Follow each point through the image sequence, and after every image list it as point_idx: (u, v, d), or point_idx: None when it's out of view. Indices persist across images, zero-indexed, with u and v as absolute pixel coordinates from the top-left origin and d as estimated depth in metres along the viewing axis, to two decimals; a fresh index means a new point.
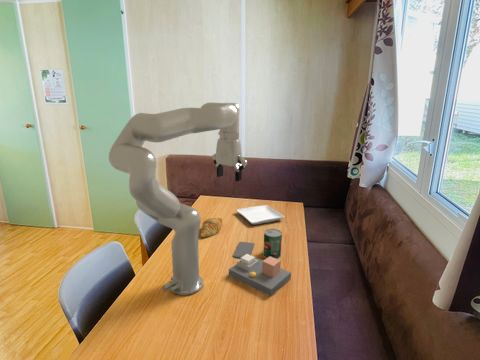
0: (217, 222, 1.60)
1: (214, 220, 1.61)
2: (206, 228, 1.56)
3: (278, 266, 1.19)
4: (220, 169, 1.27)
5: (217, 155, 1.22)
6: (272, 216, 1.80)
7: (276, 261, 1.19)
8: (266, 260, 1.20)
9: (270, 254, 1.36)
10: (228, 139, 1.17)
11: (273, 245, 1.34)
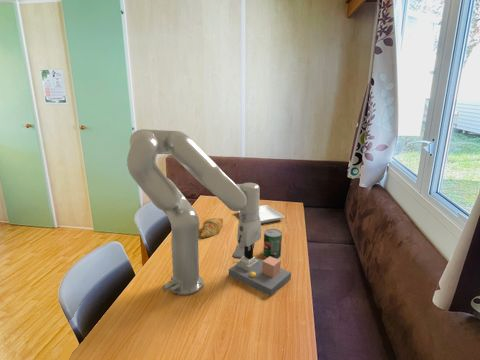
0: (217, 222, 1.60)
1: (214, 220, 1.60)
2: (206, 228, 1.56)
3: (278, 266, 1.19)
4: None
5: (248, 239, 1.17)
6: (272, 216, 1.80)
7: (276, 261, 1.19)
8: (266, 260, 1.20)
9: (270, 254, 1.36)
10: (258, 217, 1.20)
11: (273, 245, 1.34)
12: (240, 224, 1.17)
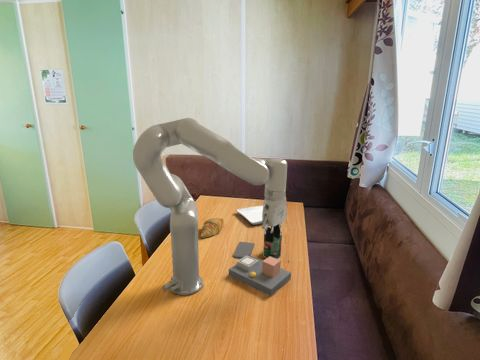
0: (218, 222, 1.60)
1: (215, 220, 1.60)
2: (206, 228, 1.56)
3: (278, 266, 1.19)
4: None
5: (274, 218, 1.10)
6: None
7: (276, 261, 1.19)
8: (266, 260, 1.20)
9: (270, 254, 1.36)
10: (285, 195, 1.12)
11: (273, 245, 1.34)
12: (266, 202, 1.10)
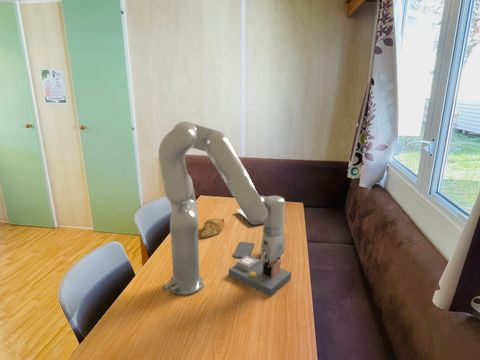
0: (218, 222, 1.60)
1: (215, 220, 1.60)
2: (207, 228, 1.56)
3: (278, 266, 1.19)
4: None
5: (272, 254, 1.14)
6: None
7: (276, 261, 1.19)
8: (266, 260, 1.20)
9: None
10: None
11: None
12: (264, 238, 1.14)
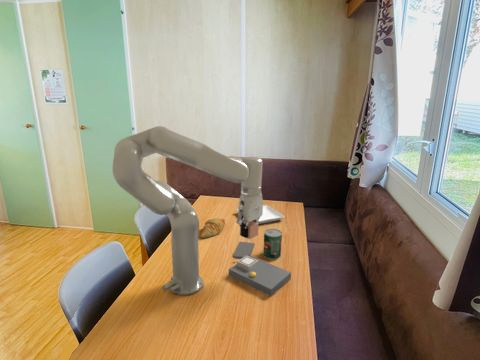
0: (219, 223, 1.59)
1: (216, 221, 1.60)
2: (207, 228, 1.55)
3: (256, 228, 1.20)
4: None
5: (249, 214, 1.14)
6: (272, 216, 1.80)
7: (254, 223, 1.20)
8: (244, 222, 1.20)
9: (270, 254, 1.36)
10: (260, 192, 1.16)
11: (273, 245, 1.34)
12: (241, 199, 1.14)
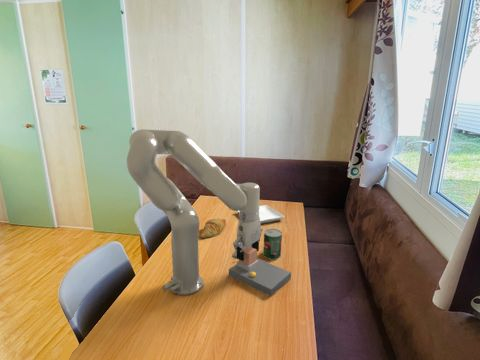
0: (219, 223, 1.59)
1: (216, 221, 1.60)
2: (207, 228, 1.55)
3: (254, 255, 1.23)
4: None
5: (248, 238, 1.17)
6: (272, 216, 1.80)
7: (252, 250, 1.23)
8: None
9: (270, 254, 1.36)
10: None
11: (273, 245, 1.34)
12: (240, 224, 1.17)
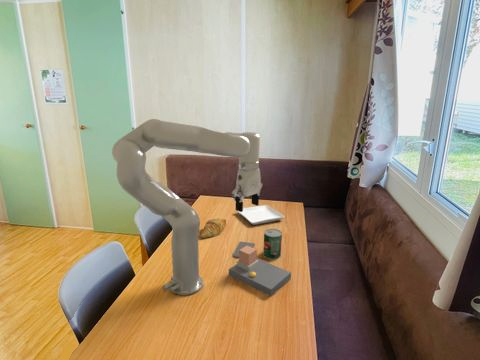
0: (219, 223, 1.59)
1: (216, 221, 1.60)
2: (207, 228, 1.55)
3: (254, 255, 1.23)
4: None
5: (247, 188, 1.16)
6: (272, 216, 1.80)
7: (252, 250, 1.23)
8: (242, 249, 1.24)
9: (270, 254, 1.36)
10: (258, 168, 1.18)
11: (273, 245, 1.34)
12: (239, 173, 1.16)
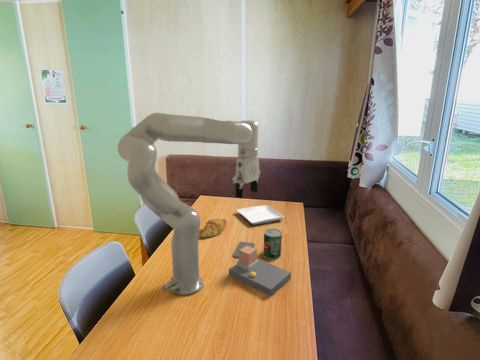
0: (219, 223, 1.59)
1: (217, 221, 1.59)
2: (207, 228, 1.55)
3: (254, 255, 1.23)
4: None
5: (246, 175, 1.19)
6: (272, 216, 1.80)
7: (252, 250, 1.23)
8: (242, 249, 1.24)
9: (270, 254, 1.36)
10: (256, 155, 1.21)
11: (273, 245, 1.34)
12: (238, 160, 1.19)
